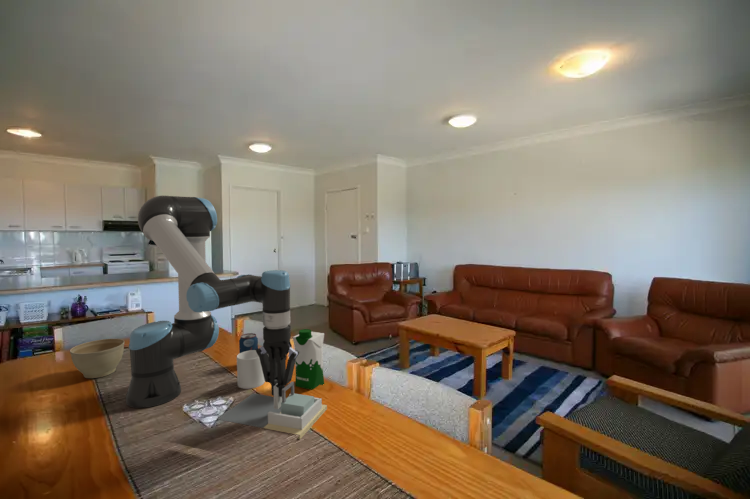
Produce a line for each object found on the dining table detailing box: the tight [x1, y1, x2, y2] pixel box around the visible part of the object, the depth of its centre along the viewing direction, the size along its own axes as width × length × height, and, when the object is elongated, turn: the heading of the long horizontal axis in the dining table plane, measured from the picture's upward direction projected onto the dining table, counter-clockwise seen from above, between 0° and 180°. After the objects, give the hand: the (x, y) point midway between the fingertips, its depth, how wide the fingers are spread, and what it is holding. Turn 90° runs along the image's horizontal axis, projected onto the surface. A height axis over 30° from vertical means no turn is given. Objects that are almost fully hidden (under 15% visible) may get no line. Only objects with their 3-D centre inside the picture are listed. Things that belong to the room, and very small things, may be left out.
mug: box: [236, 350, 266, 390], centre depth 125 cm, size 12×9×11 cm
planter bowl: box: [69, 338, 125, 379], centre depth 135 cm, size 16×16×11 cm
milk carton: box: [292, 328, 325, 391], centre depth 123 cm, size 9×9×20 cm
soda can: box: [238, 332, 259, 354], centre depth 142 cm, size 7×7×12 cm
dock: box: [217, 393, 328, 440], centre depth 104 cm, size 26×16×4 cm, turn 72°
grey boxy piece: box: [281, 381, 315, 417], centre depth 101 cm, size 7×6×9 cm
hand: (278, 406), depth 104 cm, fingers closed
